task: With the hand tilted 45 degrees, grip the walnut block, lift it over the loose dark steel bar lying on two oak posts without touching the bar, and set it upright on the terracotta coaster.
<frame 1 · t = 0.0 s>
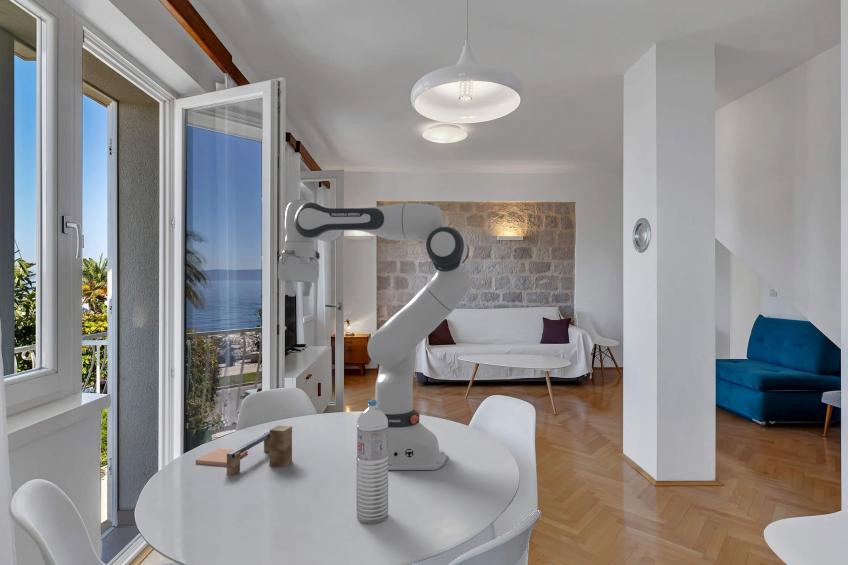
hand: (299, 296, 139), 48 cm above the table, tool pointing down, fingers open, 8 cm apart
coaster: (222, 458, 132), on the table
walnut block: (280, 463, 128), on the table
water bottle: (372, 518, 96), on the table
metal bar: (252, 445, 130), point 4 cm above the table, touching hurdle posts
hurdle posts: (252, 460, 130), on the table
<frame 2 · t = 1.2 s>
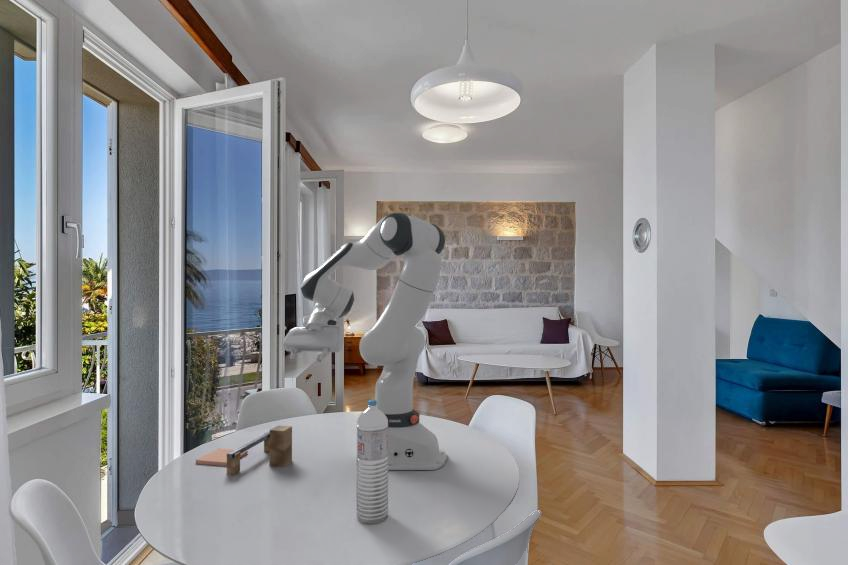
hand: (305, 360, 144), 27 cm above the table, tool tilted 45°, fingers open, 8 cm apart
nothing on the table moved.
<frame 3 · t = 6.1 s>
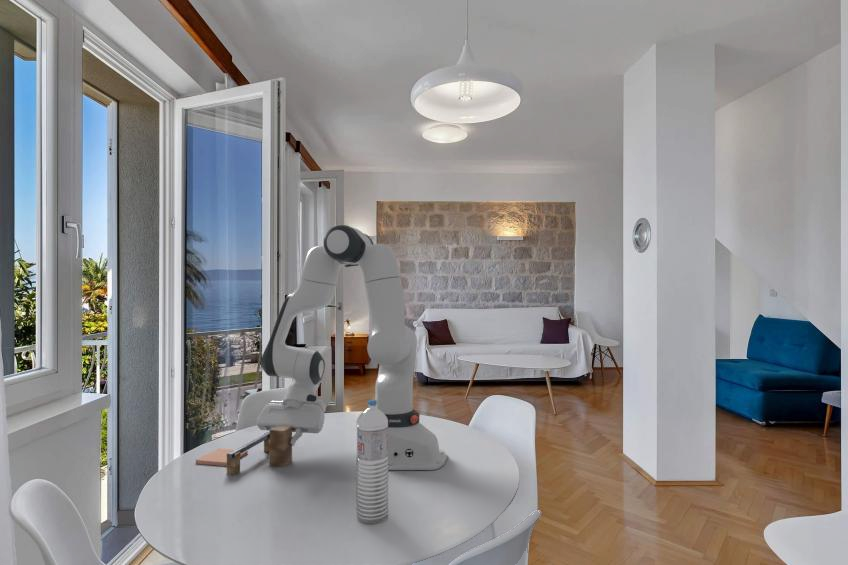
hand: (281, 444, 128), 5 cm above the table, tool tilted 45°, fingers closed on walnut block, 4 cm apart
walnut block: (280, 463, 128), on the table, touching gripper
everything else where it was.
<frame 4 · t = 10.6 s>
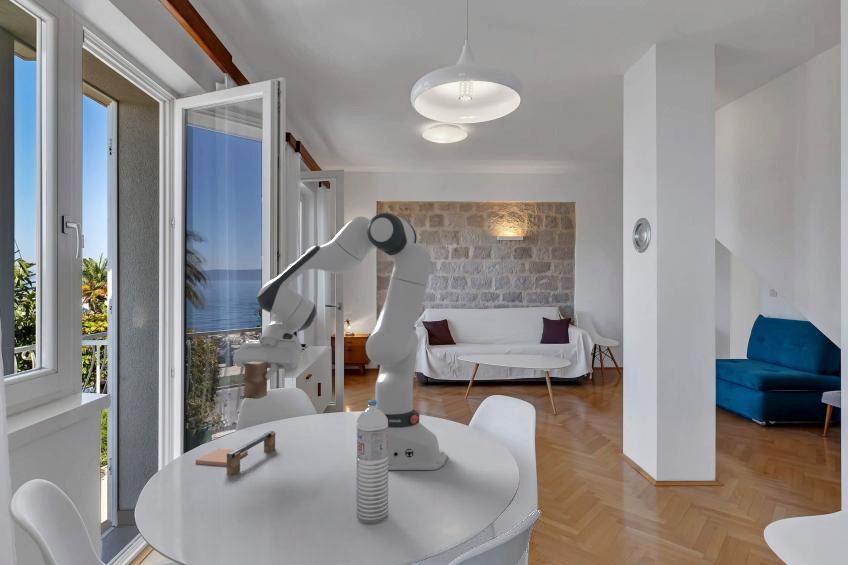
hand: (256, 378, 131), 24 cm above the table, tool tilted 45°, fingers closed on walnut block, 4 cm apart
walnut block: (255, 396, 130), point 19 cm above the table, touching gripper
everything else where it was.
when the fingers open (8 cm above the table, at t = 15.3 s): walnut block drops 1 cm, resting on coaster.
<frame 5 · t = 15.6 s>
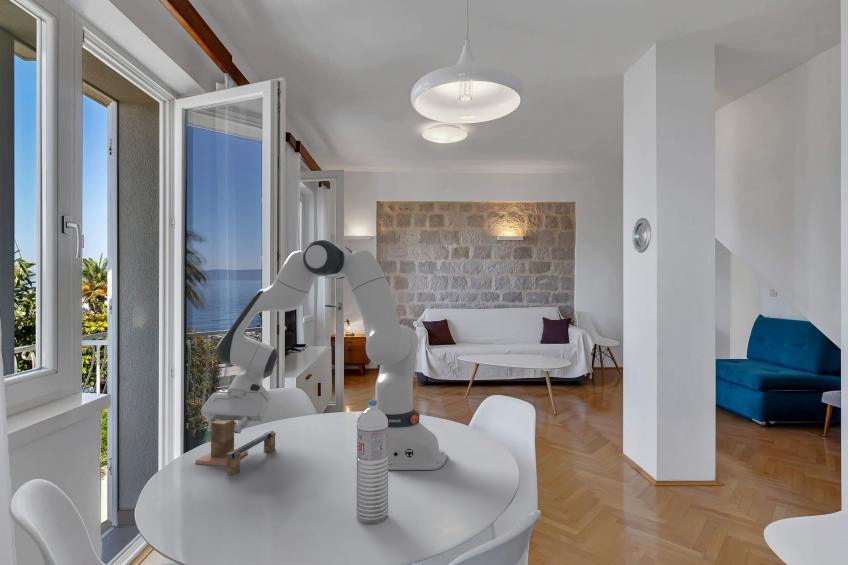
hand: (223, 431, 132), 8 cm above the table, tool tilted 45°, fingers open, 8 cm apart
walnut block: (222, 455, 132), point 1 cm above the table, touching coaster
everything else where it was.
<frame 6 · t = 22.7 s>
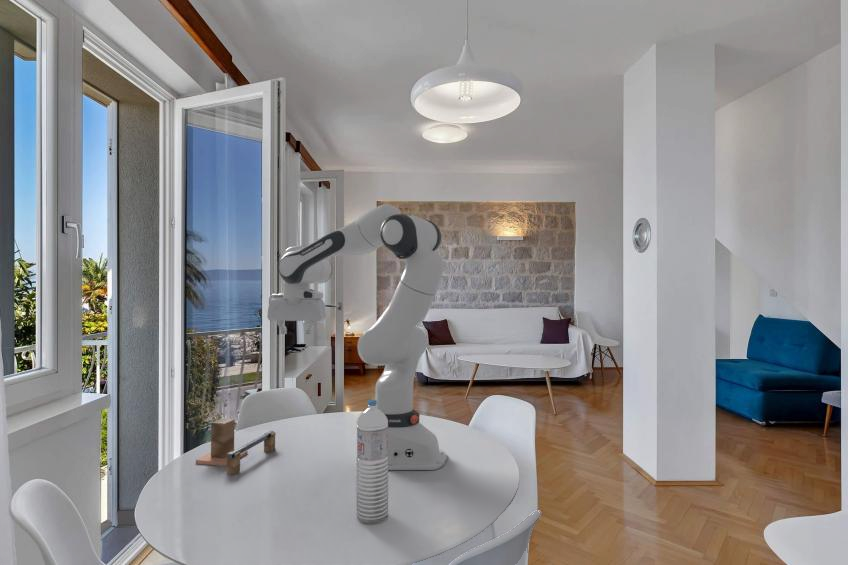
hand: (296, 334, 152), 35 cm above the table, tool pointing down, fingers open, 8 cm apart
nothing on the table moved.
at the end: walnut block 0.0 cm off-centre on the coaster, point 1.0 cm above the coaster's base; walnut block tilted 0°; metal bar moved 0.0 cm from its start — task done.
